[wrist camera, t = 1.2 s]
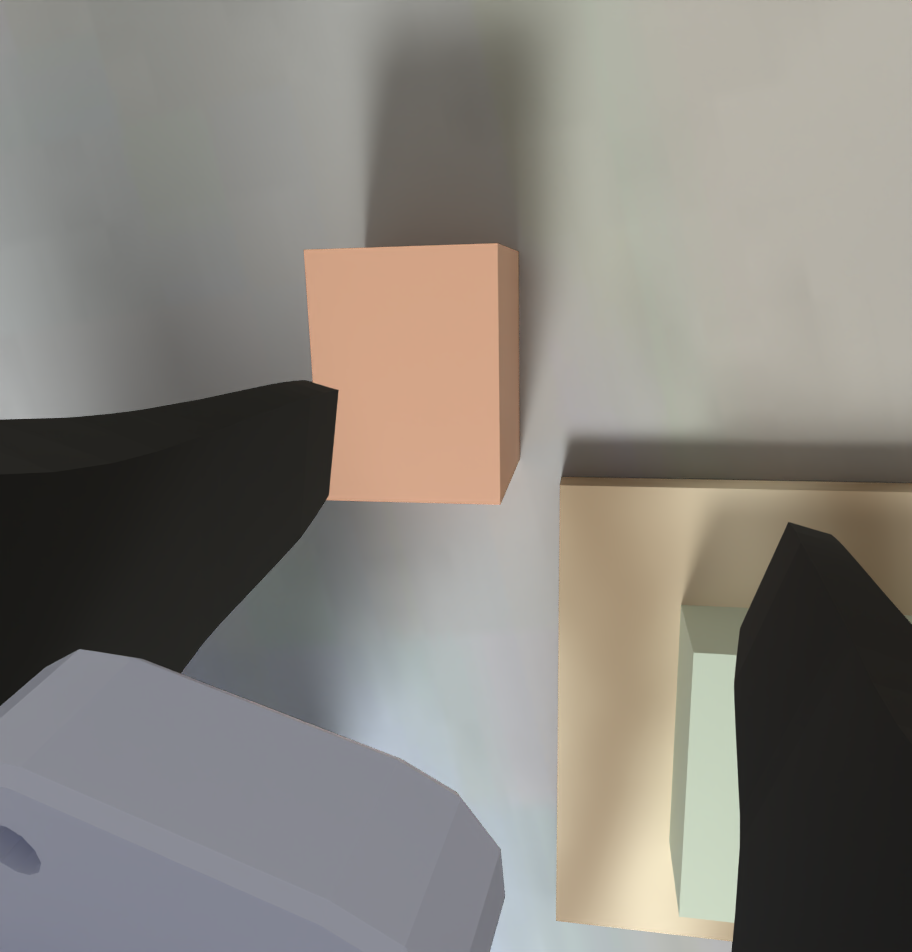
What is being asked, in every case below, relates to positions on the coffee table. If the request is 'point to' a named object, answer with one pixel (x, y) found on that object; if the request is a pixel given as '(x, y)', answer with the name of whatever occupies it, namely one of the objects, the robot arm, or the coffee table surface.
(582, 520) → the baseplate
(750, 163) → the coffee table surface
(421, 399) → the terracotta brick
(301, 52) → the coffee table surface
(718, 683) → the sage brick
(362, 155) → the coffee table surface
